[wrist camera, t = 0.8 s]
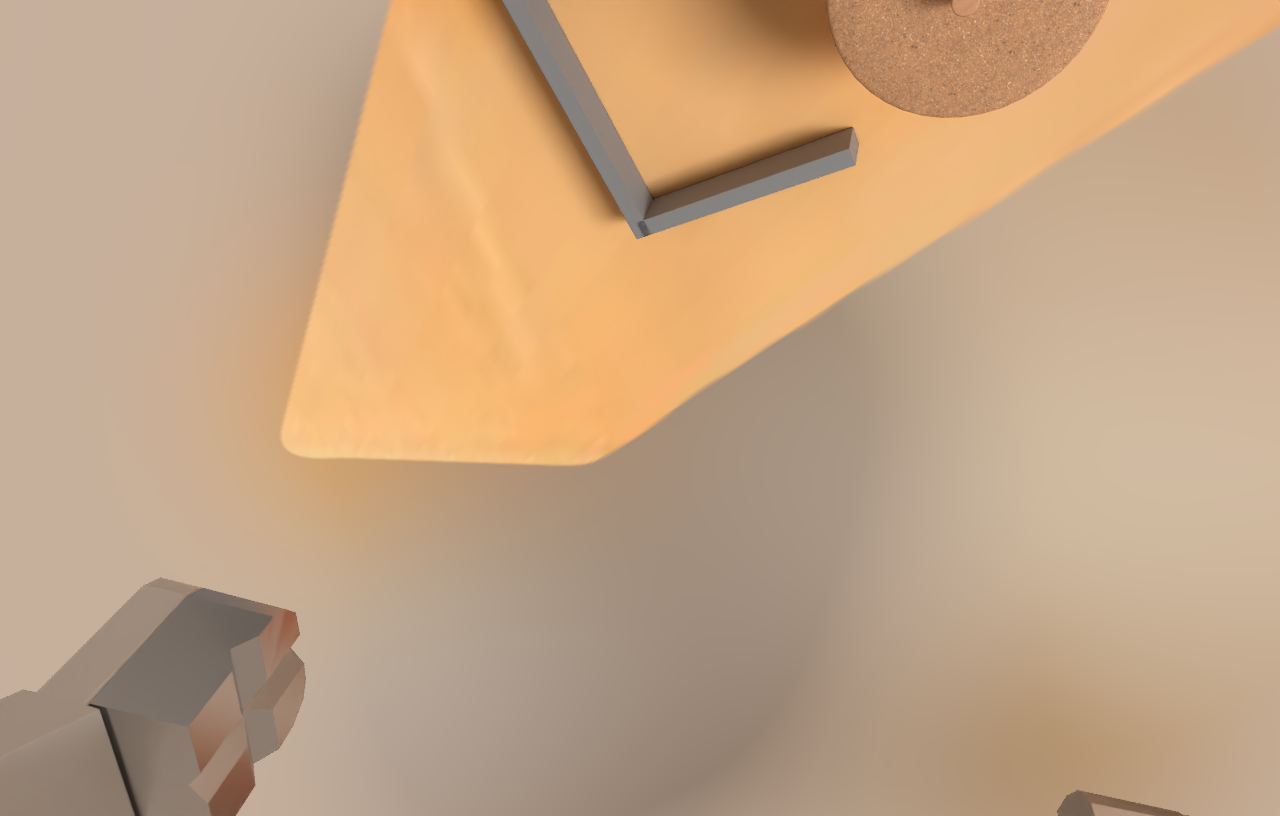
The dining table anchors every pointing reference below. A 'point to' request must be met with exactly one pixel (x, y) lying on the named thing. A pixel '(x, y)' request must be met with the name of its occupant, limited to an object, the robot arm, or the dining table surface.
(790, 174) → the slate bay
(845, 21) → the lidded jar
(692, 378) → the dining table surface
